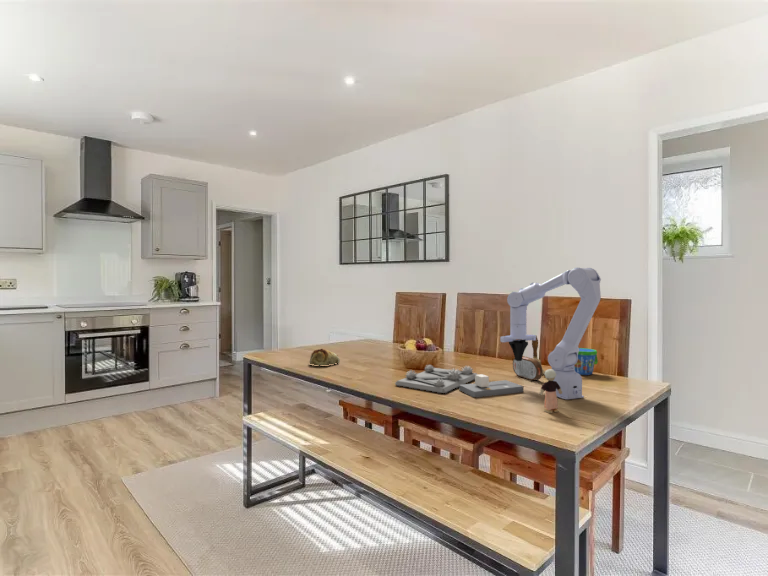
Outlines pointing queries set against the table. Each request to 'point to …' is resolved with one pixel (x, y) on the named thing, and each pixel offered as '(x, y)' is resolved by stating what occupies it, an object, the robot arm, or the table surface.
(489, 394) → the switch board
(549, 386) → the grandmother figurine
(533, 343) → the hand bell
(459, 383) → the grey knobbed board
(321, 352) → the pastry
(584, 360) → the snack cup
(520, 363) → the tin
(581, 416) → the table surface
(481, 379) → the switch tab
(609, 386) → the table surface
